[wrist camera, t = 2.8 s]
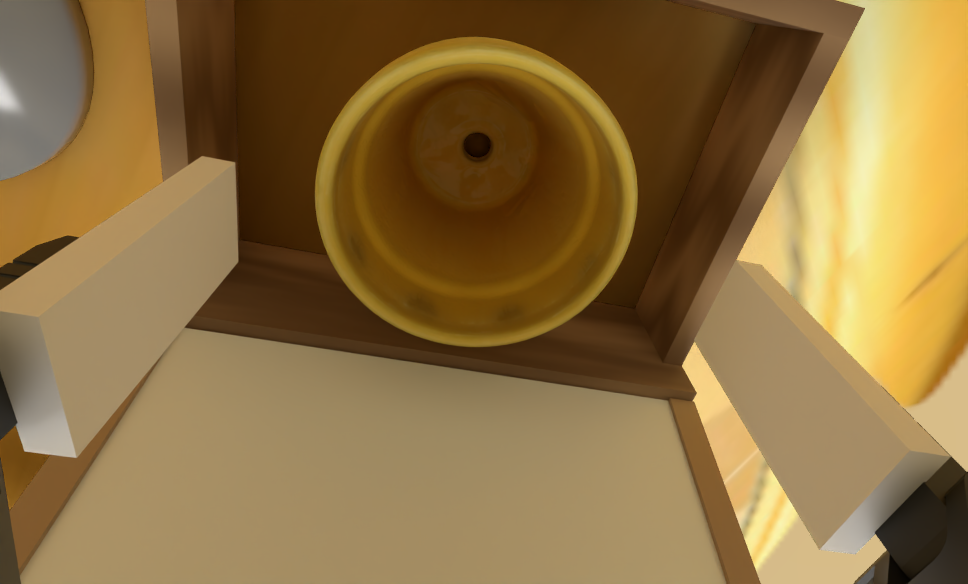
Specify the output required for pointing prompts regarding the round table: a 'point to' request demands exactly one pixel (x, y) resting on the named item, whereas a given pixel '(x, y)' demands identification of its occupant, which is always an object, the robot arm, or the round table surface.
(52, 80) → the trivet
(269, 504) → the lid
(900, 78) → the round table surface
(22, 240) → the round table surface
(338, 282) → the cold frame
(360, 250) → the plant pot
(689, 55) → the round table surface
